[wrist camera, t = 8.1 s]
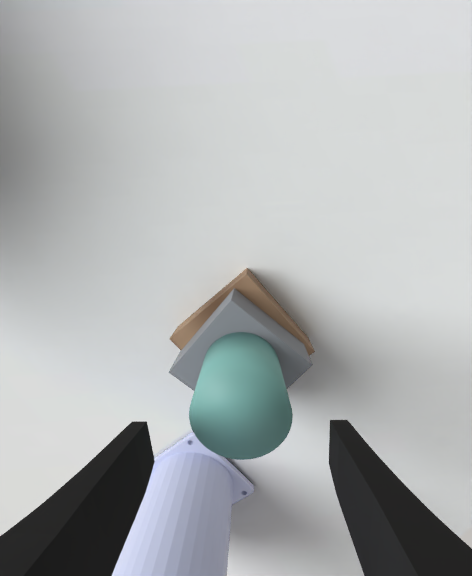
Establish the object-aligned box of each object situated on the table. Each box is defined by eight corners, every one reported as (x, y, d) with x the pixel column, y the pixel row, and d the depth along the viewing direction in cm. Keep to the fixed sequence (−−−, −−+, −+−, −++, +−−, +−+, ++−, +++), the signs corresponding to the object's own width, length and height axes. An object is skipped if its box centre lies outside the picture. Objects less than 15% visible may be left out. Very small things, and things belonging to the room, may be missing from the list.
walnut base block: (238, 384, 21) (236, 406, 19) (179, 324, 20) (169, 338, 17) (307, 335, 19) (314, 351, 17) (247, 266, 18) (246, 273, 16)
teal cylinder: (237, 413, 15) (235, 475, 12) (187, 363, 15) (168, 411, 11) (294, 371, 15) (313, 423, 11) (245, 316, 14) (246, 350, 10)
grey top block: (246, 400, 18) (245, 427, 16) (180, 351, 18) (168, 372, 15) (304, 343, 17) (312, 364, 14) (234, 287, 16) (231, 300, 14)
